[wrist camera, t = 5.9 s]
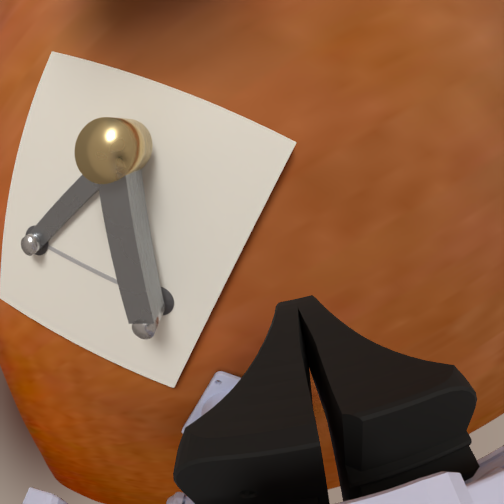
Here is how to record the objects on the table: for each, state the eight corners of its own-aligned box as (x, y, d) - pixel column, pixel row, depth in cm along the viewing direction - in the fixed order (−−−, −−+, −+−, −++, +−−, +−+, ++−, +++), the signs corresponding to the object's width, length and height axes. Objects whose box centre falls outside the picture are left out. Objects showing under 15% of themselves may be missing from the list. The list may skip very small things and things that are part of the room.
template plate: (176, 380, 24) (172, 393, 23) (6, 293, 22) (-4, 301, 20) (294, 141, 18) (298, 142, 16) (59, 53, 15) (47, 49, 14)
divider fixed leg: (117, 143, 17) (109, 144, 16) (130, 161, 17) (123, 163, 16) (27, 238, 19) (17, 243, 18) (37, 253, 19) (28, 259, 18)
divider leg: (100, 124, 16) (71, 124, 13) (152, 114, 16) (130, 111, 12) (135, 314, 20) (118, 344, 17) (180, 313, 20) (169, 345, 17)
